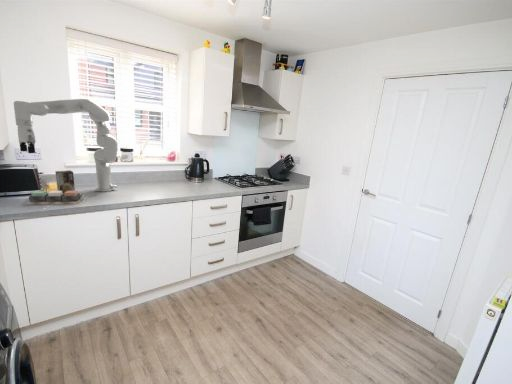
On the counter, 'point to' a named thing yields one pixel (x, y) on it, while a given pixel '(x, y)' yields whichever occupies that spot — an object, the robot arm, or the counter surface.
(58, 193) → the cream button
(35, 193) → the sage button
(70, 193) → the terracotta button
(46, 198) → the button panel
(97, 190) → the robot arm
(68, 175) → the coffee box
